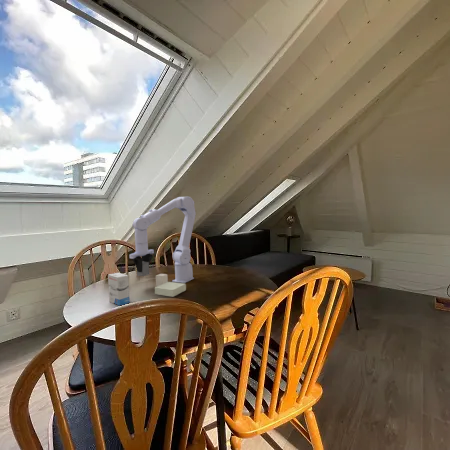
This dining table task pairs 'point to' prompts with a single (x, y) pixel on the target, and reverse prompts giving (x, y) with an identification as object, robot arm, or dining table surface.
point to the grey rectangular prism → (144, 269)
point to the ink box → (118, 288)
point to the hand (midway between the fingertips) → (143, 270)
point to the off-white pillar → (161, 279)
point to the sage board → (170, 289)
